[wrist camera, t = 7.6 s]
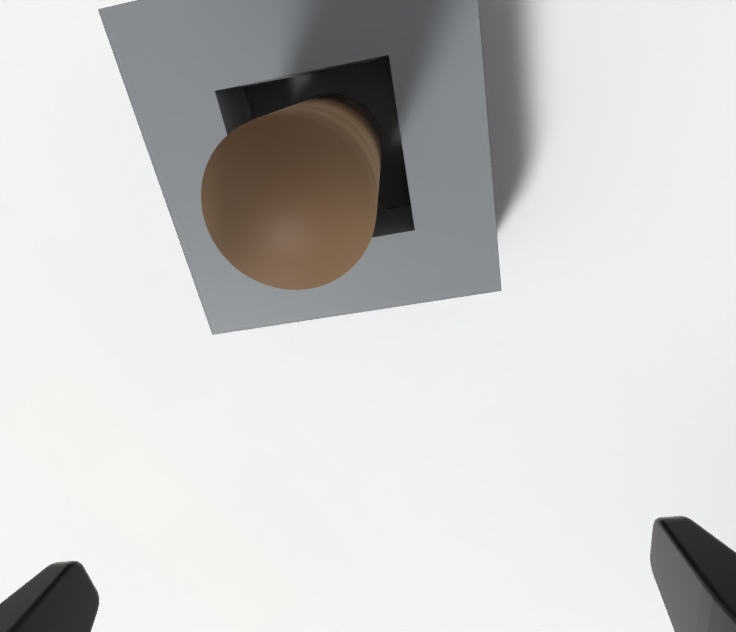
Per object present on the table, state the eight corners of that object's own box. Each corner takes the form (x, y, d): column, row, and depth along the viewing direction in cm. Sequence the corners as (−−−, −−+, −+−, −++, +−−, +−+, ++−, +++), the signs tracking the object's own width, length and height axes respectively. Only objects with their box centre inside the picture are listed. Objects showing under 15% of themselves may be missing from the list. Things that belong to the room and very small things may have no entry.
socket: (456, -50, 14) (471, -78, 11) (484, 257, 18) (501, 290, 15) (149, 20, 15) (97, 9, 12) (237, 296, 19) (212, 334, 16)
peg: (372, 84, 16) (358, 97, 9) (389, 188, 17) (389, 276, 10) (271, 105, 16) (176, 133, 9) (296, 205, 17) (230, 301, 10)
